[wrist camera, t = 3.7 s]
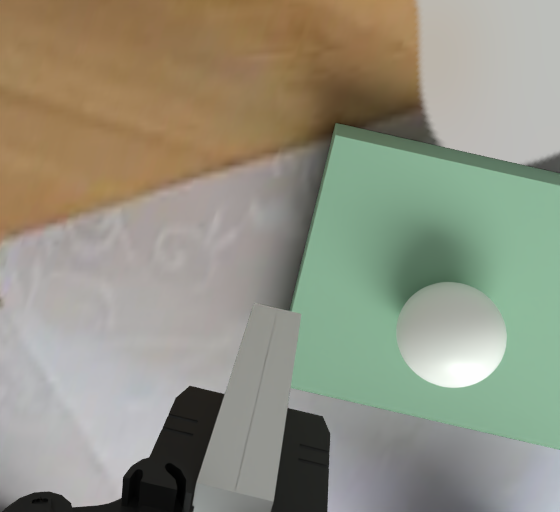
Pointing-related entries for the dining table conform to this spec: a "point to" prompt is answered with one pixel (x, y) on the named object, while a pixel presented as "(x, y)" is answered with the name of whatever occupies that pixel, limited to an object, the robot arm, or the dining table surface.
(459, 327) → the ball
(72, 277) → the dining table surface
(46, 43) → the dining table surface
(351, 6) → the dining table surface
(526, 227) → the green
